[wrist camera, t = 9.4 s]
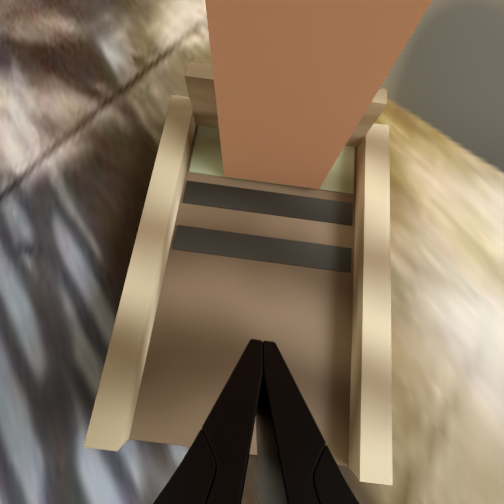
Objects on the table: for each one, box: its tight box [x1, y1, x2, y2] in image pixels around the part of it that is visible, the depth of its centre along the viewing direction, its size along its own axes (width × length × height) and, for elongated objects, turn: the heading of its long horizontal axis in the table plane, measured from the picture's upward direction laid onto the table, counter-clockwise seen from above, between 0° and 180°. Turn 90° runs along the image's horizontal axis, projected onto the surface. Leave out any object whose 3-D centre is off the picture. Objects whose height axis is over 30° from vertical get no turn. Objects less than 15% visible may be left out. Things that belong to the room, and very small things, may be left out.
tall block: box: [205, 0, 432, 189], centre depth 11 cm, size 3×6×12 cm, turn 83°
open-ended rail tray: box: [84, 61, 392, 485], centre depth 15 cm, size 20×14×5 cm
